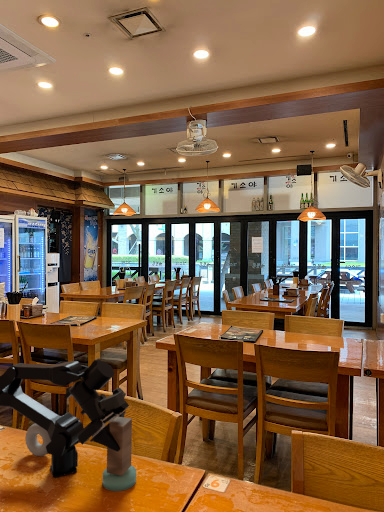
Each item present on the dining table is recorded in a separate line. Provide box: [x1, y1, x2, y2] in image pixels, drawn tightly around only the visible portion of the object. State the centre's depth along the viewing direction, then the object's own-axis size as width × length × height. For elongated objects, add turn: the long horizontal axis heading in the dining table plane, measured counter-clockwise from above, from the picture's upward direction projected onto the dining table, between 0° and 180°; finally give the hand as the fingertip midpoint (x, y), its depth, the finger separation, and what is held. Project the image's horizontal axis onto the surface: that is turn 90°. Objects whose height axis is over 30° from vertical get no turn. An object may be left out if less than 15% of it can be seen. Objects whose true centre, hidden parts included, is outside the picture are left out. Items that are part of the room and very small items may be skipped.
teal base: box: [102, 464, 137, 492], centre depth 106 cm, size 9×9×2 cm
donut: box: [24, 423, 51, 457], centre depth 119 cm, size 10×4×10 cm, turn 71°
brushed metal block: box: [106, 416, 133, 476], centre depth 106 cm, size 5×5×13 cm
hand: (124, 445), depth 105 cm, fingers closed on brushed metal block, 5 cm apart
